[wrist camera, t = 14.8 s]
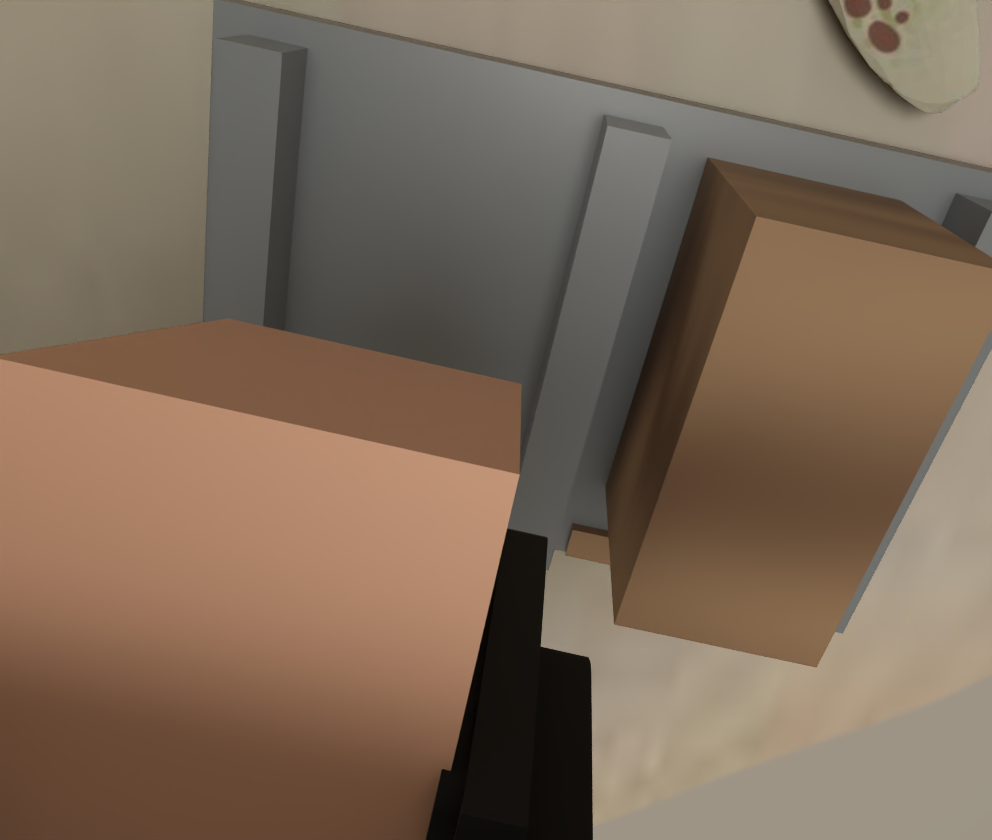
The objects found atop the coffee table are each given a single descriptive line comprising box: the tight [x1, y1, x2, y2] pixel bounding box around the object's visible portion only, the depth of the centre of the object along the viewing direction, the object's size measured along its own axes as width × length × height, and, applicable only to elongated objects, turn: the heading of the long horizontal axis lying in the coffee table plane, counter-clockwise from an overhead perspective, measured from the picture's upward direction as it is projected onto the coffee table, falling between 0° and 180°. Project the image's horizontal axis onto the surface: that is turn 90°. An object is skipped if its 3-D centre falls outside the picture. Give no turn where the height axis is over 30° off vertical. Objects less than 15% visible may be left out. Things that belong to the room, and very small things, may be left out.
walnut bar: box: [605, 157, 992, 667], centre depth 16 cm, size 8×4×5 cm, turn 169°
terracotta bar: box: [0, 318, 522, 840], centre depth 9 cm, size 8×4×5 cm, turn 168°
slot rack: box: [203, 0, 992, 633], centre depth 18 cm, size 17×11×3 cm, turn 79°
